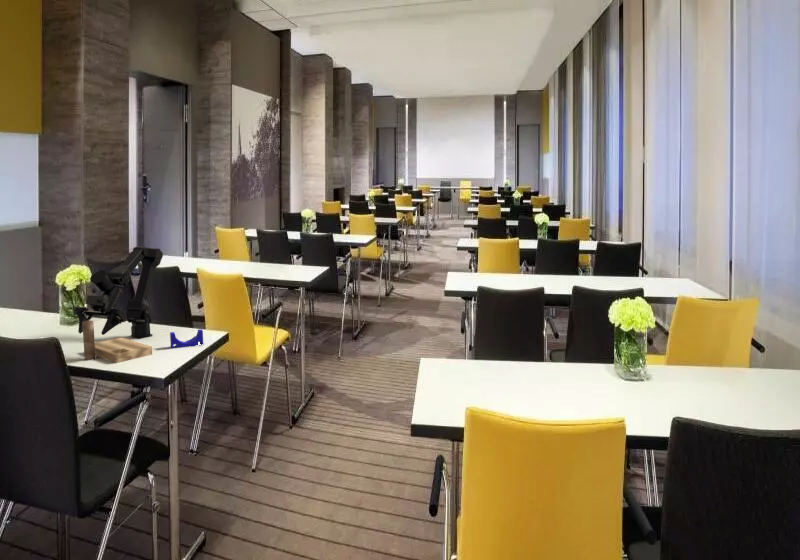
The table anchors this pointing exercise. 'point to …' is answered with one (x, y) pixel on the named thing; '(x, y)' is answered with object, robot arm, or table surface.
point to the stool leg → (88, 340)
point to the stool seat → (121, 350)
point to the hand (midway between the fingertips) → (90, 333)
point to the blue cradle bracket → (188, 343)
